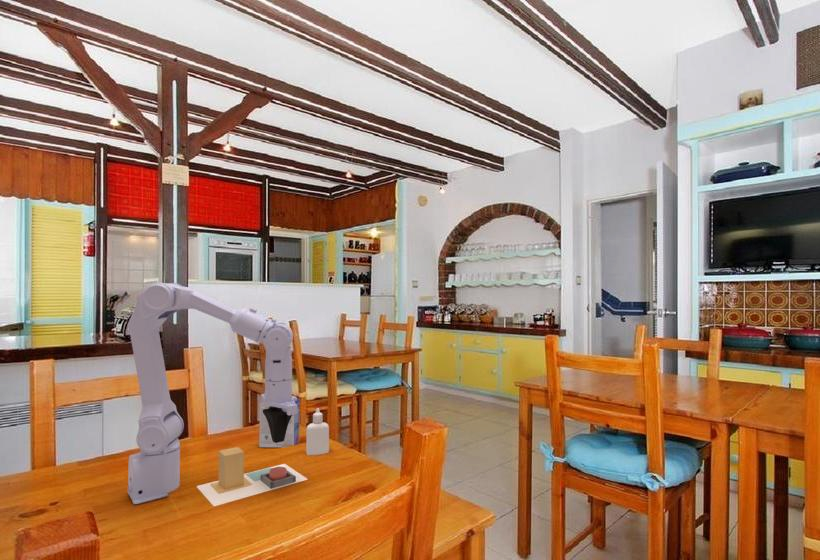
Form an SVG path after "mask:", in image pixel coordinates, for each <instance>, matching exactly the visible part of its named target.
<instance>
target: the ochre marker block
mask: <svg viewBox="0 0 820 560" xmlns="http://www.w3.org/2000/svg"><path fill="white" fill-rule="evenodd" d="M244 474H245V451H244V450H242V448H241V447H238V446H235V447H231V448H227V449H222V450H219V451H218V480H219V485H220V486H221V487H222V488H223V489H224V490H226V489H230V488H233V487H237V486H241V485H244Z"/></svg>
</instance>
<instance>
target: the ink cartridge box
mask: <svg viewBox="0 0 820 560" xmlns="http://www.w3.org/2000/svg"><path fill="white" fill-rule="evenodd" d="M294 402H295V404H297V405H298V414H294V415H292V417H291V419H290V421H289V424H288V427H287V431H286V435H285V439H284V441H283V442H278V443H274V442H273V441H272V437H271V433H270V428H269V425H268V422H267V419H266V417H265V415H264V413H263V410H264V409H268V408H269V407H270V406H267V405H265V404H264V403H261V402H259V429H258V431H259V433H258V434H259V435H258V436H259V437H258V440H259V442H258V447H259V448H283V449H284V448H286V447H291V446H296V445H298V444H299V443H300V398H297V400H296V401H294Z"/></svg>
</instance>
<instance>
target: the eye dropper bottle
mask: <svg viewBox="0 0 820 560" xmlns="http://www.w3.org/2000/svg"><path fill="white" fill-rule="evenodd" d="M323 415H324V414H323V413H322V412H320V408H319V407H317V408H316V409H315V412H314V413H313V414H312V423H309V424H308V425H306V432H305V434H306V440H305V441H306V444H305V445H306V446H305V447H306V448H305V451H306V455H307V456H318V455H325V454H328V453H330V427H329V424H328V423H327V422H323Z"/></svg>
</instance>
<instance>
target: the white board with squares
mask: <svg viewBox="0 0 820 560" xmlns="http://www.w3.org/2000/svg"><path fill="white" fill-rule="evenodd" d="M275 467H285V468H286V469H287V478H283V479H280V480H276V481H271V480H270V479H269V471H270V469H272V468H275ZM307 480H308V478H307V477H306V476H304V475H303V474H301V473H299V472H297V470H295V469H293V468H292V467H290V466H289V465H287V464H286V463H283V464H282V463H281V464H279V465H275V466H269V467H266V468H263V469H262V468H261V469H259V470H254V471H251V472H247V473H244V485H241V486H237V487H233V488H230V489H226V490H224V489H223V488H222V487H221V486H220V485H219V479H218V480H216V481H211V482H207V483H204V484H200V485H196V488H197V489H198V491H200V493H202V495H203V496H204V497H205V498H206V500H207V501H208V502H210V504H211V505H212V506H213V507H217V506H221V505H224V504H228V503H230V502H231V503H232V502H235V501H238V500H242V499H245V498H248V497H252V496H255V495H259V494H262V493H263V494H264V493H265V492H269V491H273V490H277V489H280V488H283V487H286V486H290V485H293V484H297V483H302V482H304V481H307Z"/></svg>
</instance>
